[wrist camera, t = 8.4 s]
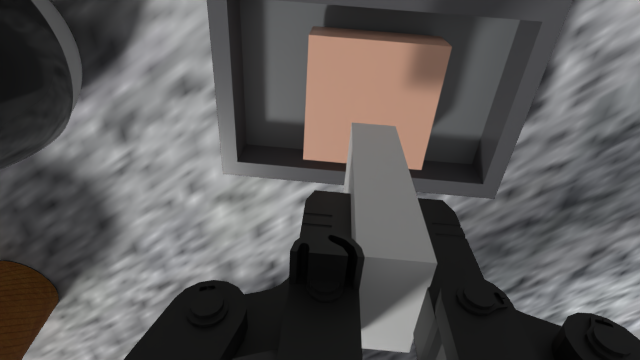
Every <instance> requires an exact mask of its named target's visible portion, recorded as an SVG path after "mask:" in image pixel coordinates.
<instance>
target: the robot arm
mask: <svg viewBox="0 0 640 360" xmlns="http://www.w3.org/2000/svg"><path fill="white" fill-rule="evenodd" d="M413 339H414V341H415V347H416V352H417V360H640V340H639V339H638V338H637V337H635V336H634V335H633V334H632V333H630V332H629V331H628V330H627V329H625V328H624V327H622V326H620V325H618V324H617V323H615V322H613V321H611V320H609V319H607V318H604V317H601V316H598V315H595V314H592V313H576V314H573V315H570V316H568V317H567V319H566V320H565V322H564V324H563V325H562V326H559V325H556V324H553V323H551V322H548V321H545V320H542V319H539V318H536V317H533V316H530V315H527V314H525V313H522V312H520V311H518V310H516V309H515V308H514V306H513V304H512V302H511V301H510V300H509V298H508V297H507V296H506V294H505V293H504V292H503V291H501V290H500V289H499V288H498V287H496V286H495V285H494V284H492V283H490V282H488V281H486V280H484V278H483V275H482V273H481V271H480V268H479V266H478V264H477V262H476V259H475V257H474V255H473V252H472V250H471V248H470V246H469V243H468V241H467V239H465V234H464V232H463V230H462V228H460V223H459V220H458V218H457V216H456V214H455V212H454V211H453V210H452V209H451V208H450V207H449V206H448V205H447V204H446V203H445V202H444V201H443V200H432V199H421V198H417V195H416V192H415V188H414V185H413V182H412V178H411V175H410V172H409V169H408V165H407V162H406V159H405V156H404V152H403V149H402V146H401V142H400V139H399V136H398V133H397V129H396V126H388V125H376V124H364V123H351V132H350V140H349V149H348V157H347V165H346V174H345V182H344V193H338V192H327V191H316V190H315V191H314V192H313V193H312V194H311V195H310V196H309V197H308V198H307V200H306V202H305V208H304V215H303V220H302V226H301V232H300V238H299V239H297V240H296V241H295V242H294V244H293V246H292V248H291V250H290V272H289V278H288V279H287V280H285V281H284V282H283V283H282V284H280V285H278V286H276V287H274V288H272V289H269V290H265V291H262V292H256V293H250V294H245V295H244V294H243V293H242V292H241V290H240V289H239V288H238V287H237V286H235V285H233V284H231V283H229V282H225V281H217V280H211V281H205V282H199V283H197V284H195V285H193V286H191V287H188V288H186V289H185V290H184V291H183V292H181V293H180V294H179V295H178V296H177V297H176V298H175V299H174V300H173V301H172V302H171V303H170V305H169V306H168V307H167V308H166V309H165V311H164V312H163V313H162V314H161V315H160V317H159V318H158V319H157V320H156V321H155V323H154V324H153V325H152V326H151V327H150V329H149V330H148V331H147V332H146V333H145V335H144V336H143V337H142V338H141V339H140V341H139V342H138V343H137V344H136V345H135V347H134V348H133V349H132V350H131V351H130V353H129V354H128V355H127V356H126V357H125V359H124V360H362V348H365V349H375V350H385V351H396V352H406V353H409V351H410V348H411V345H412V342H413Z"/></svg>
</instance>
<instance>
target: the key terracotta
mask: <svg viewBox="0 0 640 360" xmlns="http://www.w3.org/2000/svg"><path fill="white" fill-rule="evenodd" d="M451 49H452V46H451V45H450V44H449V43H448V42H447V41H445V40H444V39H443V38H442V37H441V36H429V35H417V34H405V33H393V32H380V31H368V30H356V29H343V28H331V27H319V26H313V27H312V29H311V31H310V33H309V41H308V63H307V85H306V107H305V129H304V151H303V159H305V160H316V161H327V162H338V163H347V157H348V149H349V140H350V132H351V123H364V124H376V125H388V126H396V129H397V133H398V136H399V139H400V142H401V146H402V149H403V152H404V156H405V159H406V162H407V165H408V169H416V170H421V169H422V165H423V161H424V157H425V153H426V149H427V145H428V141H429V137H430V133H431V129H432V125H433V121H434V117H435V113H436V109H437V105H438V101H439V97H440V93H441V89H442V85H443V81H444V77H445V73H446V69H447V65H448V61H449V57H450V53H451Z"/></svg>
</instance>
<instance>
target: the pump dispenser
mask: <svg viewBox="0 0 640 360" xmlns="http://www.w3.org/2000/svg"><path fill="white" fill-rule="evenodd" d="M81 85H82V65H81V59H80V54H79V51H78V47H77V45H76V42H75V39H74V37H73V35H72V33H71V31H70V29H69V27H68V25H67V24H66V22H65V20H64V19H63V17H62V16H61V14H60V13H59V12H58V10H57V9H56V8H55V7H54V5H53V4H52V3H51V2H50V1H49V0H0V170H2V169H4V168H7V167H9V166H11V165H13V164H16V163H18V162H20V161H22V160H24V159H26V158H28V157H30V156H32V155H34V154H35V153H37V152H39V151H40V150H42V149H44V148H45V147H47V146H48V145H50V144H51V143H52V142H53V141H55V140H56V139H57V138H58V137H59V136H60V135H61V133H62V132H63V131H64V129H65V128H66V126H67V124H68V121H69V119H70V116H71V113H72V111H73V109H74V108H75V106H76V103H77V101H78V98H79V95H80V91H81Z"/></svg>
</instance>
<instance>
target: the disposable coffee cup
mask: <svg viewBox="0 0 640 360" xmlns="http://www.w3.org/2000/svg"><path fill="white" fill-rule="evenodd" d="M58 300H59V298H58V293H57V291H56V289H55V287H54V286H53V285H52V284H51V282H50V281H49V280H48V279H46V278H45V277H44V276H43V275H41V274H40V273H38V272H37V271H35V270H33V269H31V268H29V267H27V266H24V265H21V264H18V263H14V262H9V261H0V360H22V358H23V356H24V355H25V353H26V352H27V350H28V348H29V347H30V345H31V344H32V342H33V341H34V339H35V337H36V336H37V335H38V333H39V331H40V330H41V328H42V327H43V325H44V324H45V322H46V321H47V319H48V317H49V316H50V314H51V313H52V311H53V309H54V308H55V307H56V305H57V303H58Z"/></svg>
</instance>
